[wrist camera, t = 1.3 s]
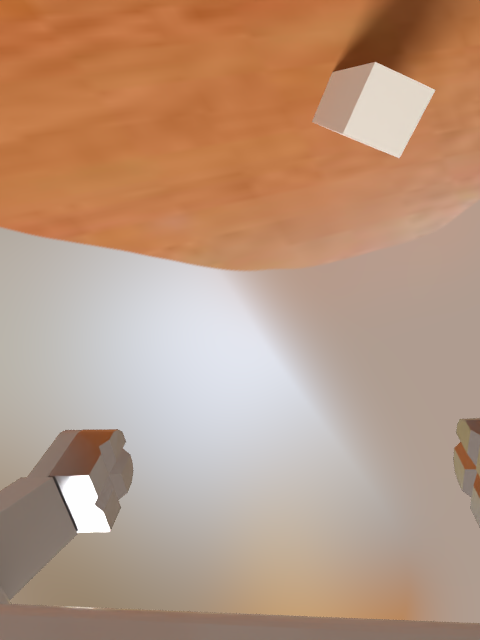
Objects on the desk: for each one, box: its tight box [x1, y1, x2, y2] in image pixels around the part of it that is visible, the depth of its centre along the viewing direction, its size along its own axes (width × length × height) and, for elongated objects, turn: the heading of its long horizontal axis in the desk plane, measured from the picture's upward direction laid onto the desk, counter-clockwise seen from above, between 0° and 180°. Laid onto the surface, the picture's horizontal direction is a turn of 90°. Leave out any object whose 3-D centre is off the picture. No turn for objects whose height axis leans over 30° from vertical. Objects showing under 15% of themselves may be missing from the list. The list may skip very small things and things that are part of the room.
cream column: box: [312, 62, 435, 158], centre depth 34 cm, size 4×4×14 cm
